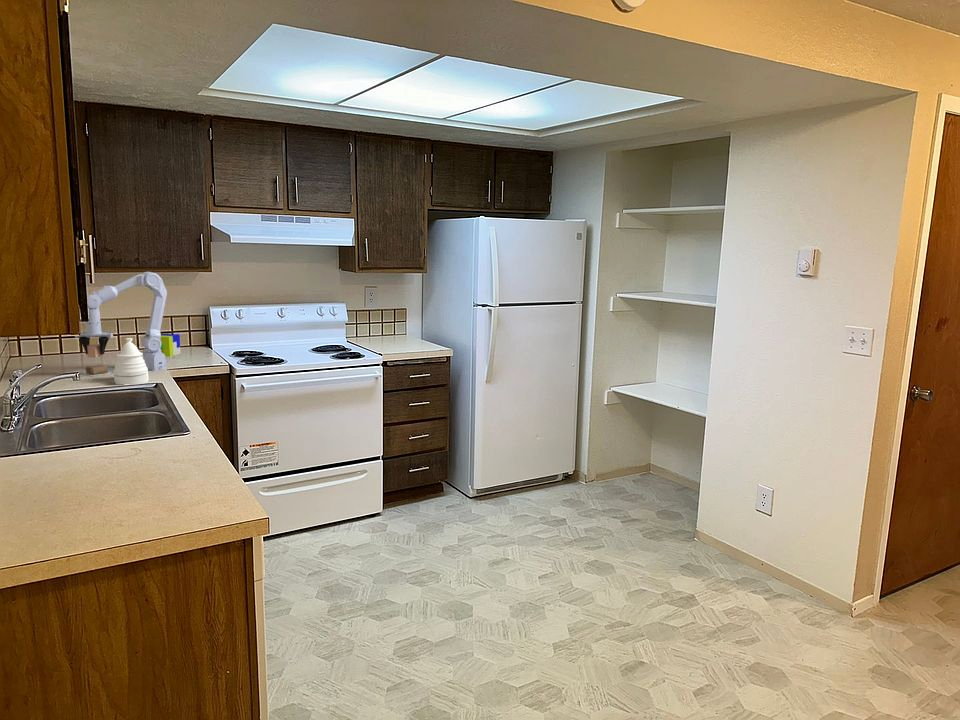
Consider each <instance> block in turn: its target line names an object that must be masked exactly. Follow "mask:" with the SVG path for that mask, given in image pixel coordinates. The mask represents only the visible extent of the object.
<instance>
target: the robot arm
mask: <svg viewBox="0 0 960 720" xmlns="http://www.w3.org/2000/svg"><path fill="white" fill-rule="evenodd" d="M135 286H138V287H139V286H142V287H144V286H145V287H147V288H148V289H149V290H150V292H151V293H153V294H154V295H153V300H152V306H151V310H150V316H149V321H148V326H147V329H146V331H145V334H144V337H143V338H142V339H141V344H142V346H143V347H144V349H142V351H143V352H142V353H143V355H142V356H143V360H144V361H145V364H146V367H147V368H148V371H153V372H155V371H161V370H167V358H166V357H167V356H165V355H164V354H163V353H162V352H161V349H160V348H161V345H162V344H161V340H160V338H161V334H162V333H161V328H162V323H163V317H164V311H165V306H166V300H167V295H168V291H167V288H166V286H165V284H164V281H163V279H162V277H161V276H160V275H159V274H158V273H155V272H152V271H144V272H142V273H139V274H137V275H134V276H132V277H129V278H128V279H125V280H124V281H122V282H120V283H118V284H117V285H114V286H112V285H104V286H102V288H101V289H98V290H96V291H95V290H94V291H91V294H89V293H88V294H87V295H88V308H89V321H88V322H85V321H84V323H85V324H84V325H85V332H84V331H83V332H80V333H81V334H80V335H79V336H75V335H74V338H76V339H77V338H79V339H78V342H80V344H81V346H82V347H83V349H84V351H85V354H86V356H88V351H87V345H91V344H90V339H91V338H93V339H95V338H96V339H97V338H98V339H97V340H98V344H100V353H101V355H103V356H104V355H105V353H106V352H105V351H106V347H107V345H108V341H109V340H110V339H112V338H114V334H113V332H104V331H103V332H102V325H101V312H100V306H101V305H103V304H105V303H107V302H110V301H113V300H114V299H116V298H117V297H118V294H119V293H122V292H124V291H126V290H128V289H131V288H133V287H135Z"/></svg>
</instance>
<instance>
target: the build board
mask: <svg viewBox="0 0 960 720" xmlns="http://www.w3.org/2000/svg"><path fill="white" fill-rule="evenodd" d="M114 369H115V366H114V367H107V370H108V373H105V374H99V375H90V374H86V371H81V372H79V373H80V374H79V375H83V376H87V377H91V378H93V377H94V378H95V377H98V376H99V377H100V376H105V375H112V374H114Z"/></svg>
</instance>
